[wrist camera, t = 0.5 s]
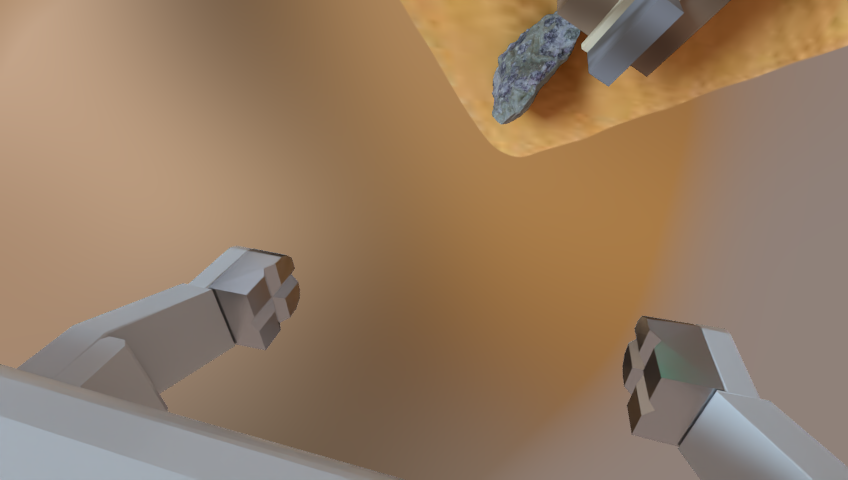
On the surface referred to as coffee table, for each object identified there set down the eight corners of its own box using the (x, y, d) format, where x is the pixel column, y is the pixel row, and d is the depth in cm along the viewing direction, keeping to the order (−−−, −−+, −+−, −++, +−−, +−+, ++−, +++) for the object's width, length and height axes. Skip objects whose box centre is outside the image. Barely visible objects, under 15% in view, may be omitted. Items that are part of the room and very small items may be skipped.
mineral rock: (574, -4, 48) (576, 36, 42) (595, 75, 54) (600, 119, 48) (474, 42, 54) (463, 82, 48) (504, 107, 61) (498, 150, 55)
